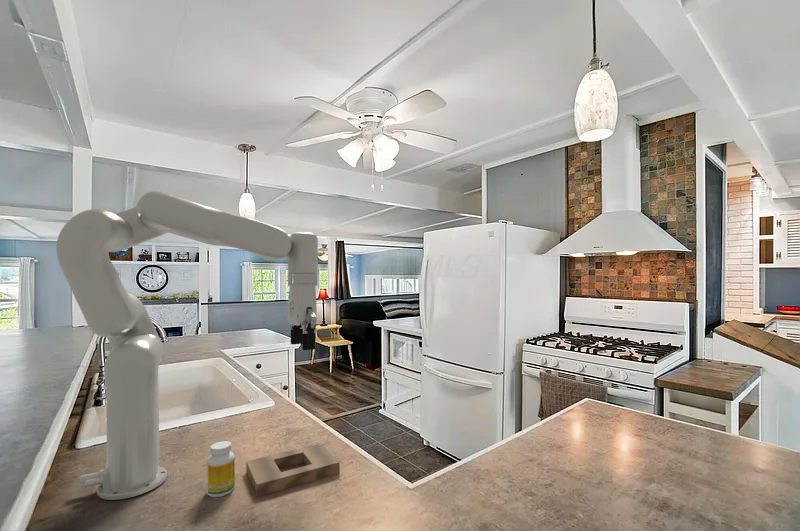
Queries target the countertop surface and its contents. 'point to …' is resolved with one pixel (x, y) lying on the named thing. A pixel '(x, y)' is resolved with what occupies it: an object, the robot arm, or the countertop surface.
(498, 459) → the countertop surface
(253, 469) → the frame
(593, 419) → the countertop surface
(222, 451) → the supplement bottle
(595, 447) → the countertop surface
